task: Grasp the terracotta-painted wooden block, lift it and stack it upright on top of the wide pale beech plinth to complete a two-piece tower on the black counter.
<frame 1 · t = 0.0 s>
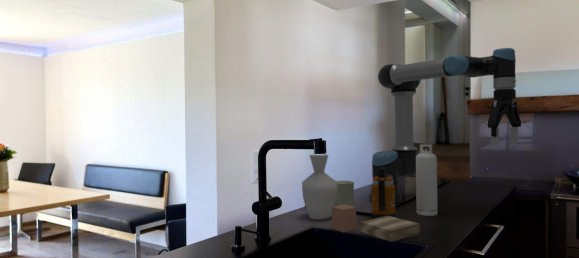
hand: (505, 144, 152), 28 cm above the worktop, fingers open, 13 cm apart
can: (344, 208, 173), on the worktop
plinth block: (389, 234, 134), on the worktop
vase: (320, 217, 158), on the worktop
canister: (383, 219, 154), on the worktop
bottle: (426, 213, 161), on the worktop
tower block: (344, 229, 140), on the worktop
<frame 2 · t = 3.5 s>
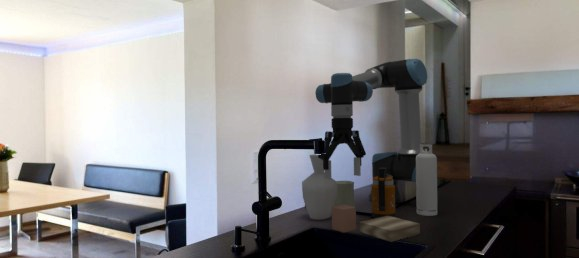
hand: (343, 177, 139), 18 cm above the worktop, fingers open, 13 cm apart
nothing on the worktop moved.
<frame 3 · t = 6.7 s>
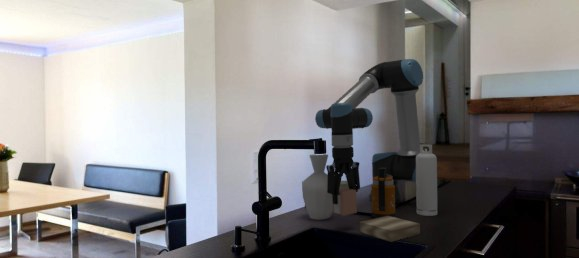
hand: (344, 211, 140), 6 cm above the worktop, fingers closed on tower block, 6 cm apart
tower block: (344, 212, 140), point 6 cm above the worktop, touching gripper
everything else where it was.
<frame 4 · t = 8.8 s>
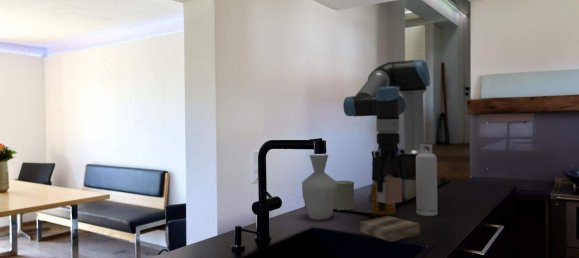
hand: (388, 200, 134), 11 cm above the worktop, fingers closed on tower block, 6 cm apart
tower block: (388, 201, 134), point 11 cm above the worktop, touching gripper
everything else where it was.
when the fingers open (4 cm above the worktop, at t = 10.8 s): tower block stays where it is, resting on plinth block.
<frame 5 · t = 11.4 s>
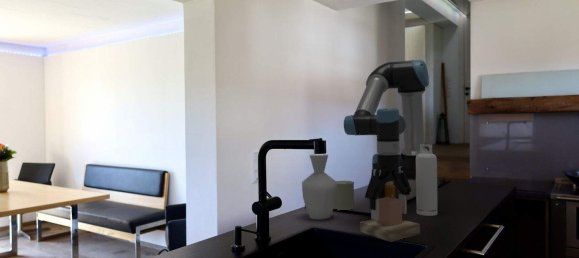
hand: (389, 216, 134), 6 cm above the worktop, fingers open, 13 cm apart
plinth block: (389, 234, 134), on the worktop, touching tower block
tower block: (389, 222, 134), point 3 cm above the worktop, touching plinth block
everything else where it was.
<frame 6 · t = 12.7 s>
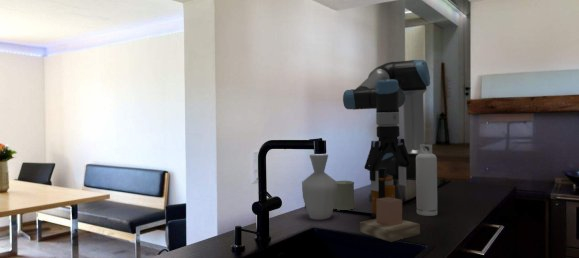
hand: (389, 188, 134), 15 cm above the worktop, fingers open, 13 cm apart
nothing on the worktop moved.
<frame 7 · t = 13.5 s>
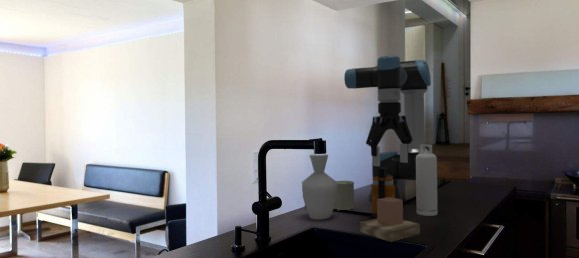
hand: (390, 164, 135), 23 cm above the worktop, fingers open, 13 cm apart
nothing on the worktop moved.
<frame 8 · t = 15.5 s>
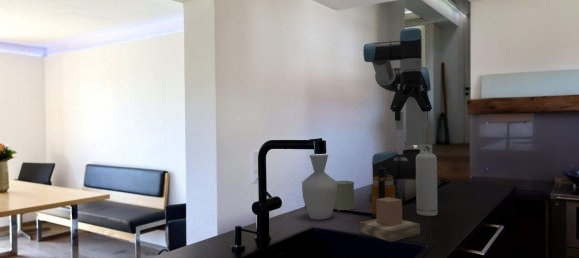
hand: (412, 129, 145), 35 cm above the worktop, fingers open, 13 cm apart
nothing on the worktop moved.
at the end: tower block inside the target area on the plinth block (0.2 cm from its centre), point 4.0 cm above the plinth block's base; tower block tilted 0°; the gripper is holding nothing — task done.
